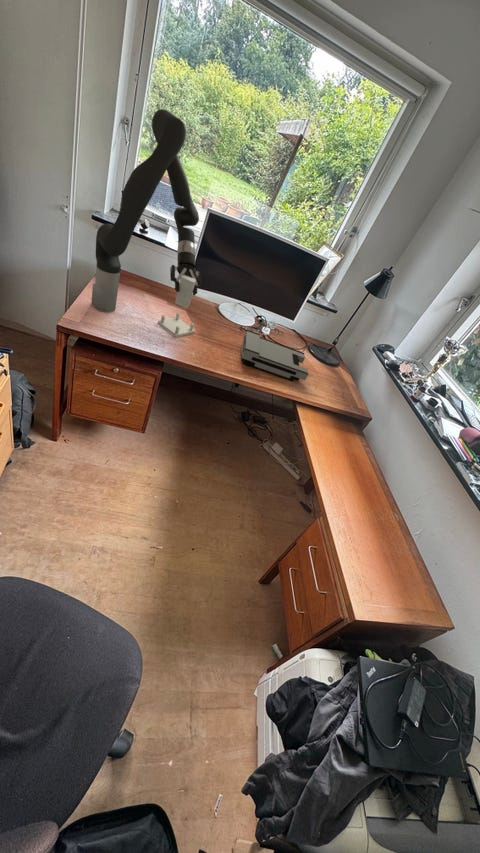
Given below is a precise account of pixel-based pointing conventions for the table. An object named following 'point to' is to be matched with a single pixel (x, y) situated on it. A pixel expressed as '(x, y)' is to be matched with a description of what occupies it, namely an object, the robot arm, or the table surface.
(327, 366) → the table surface
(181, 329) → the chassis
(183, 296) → the skincare box
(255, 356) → the grey slotted box
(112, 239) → the robot arm
